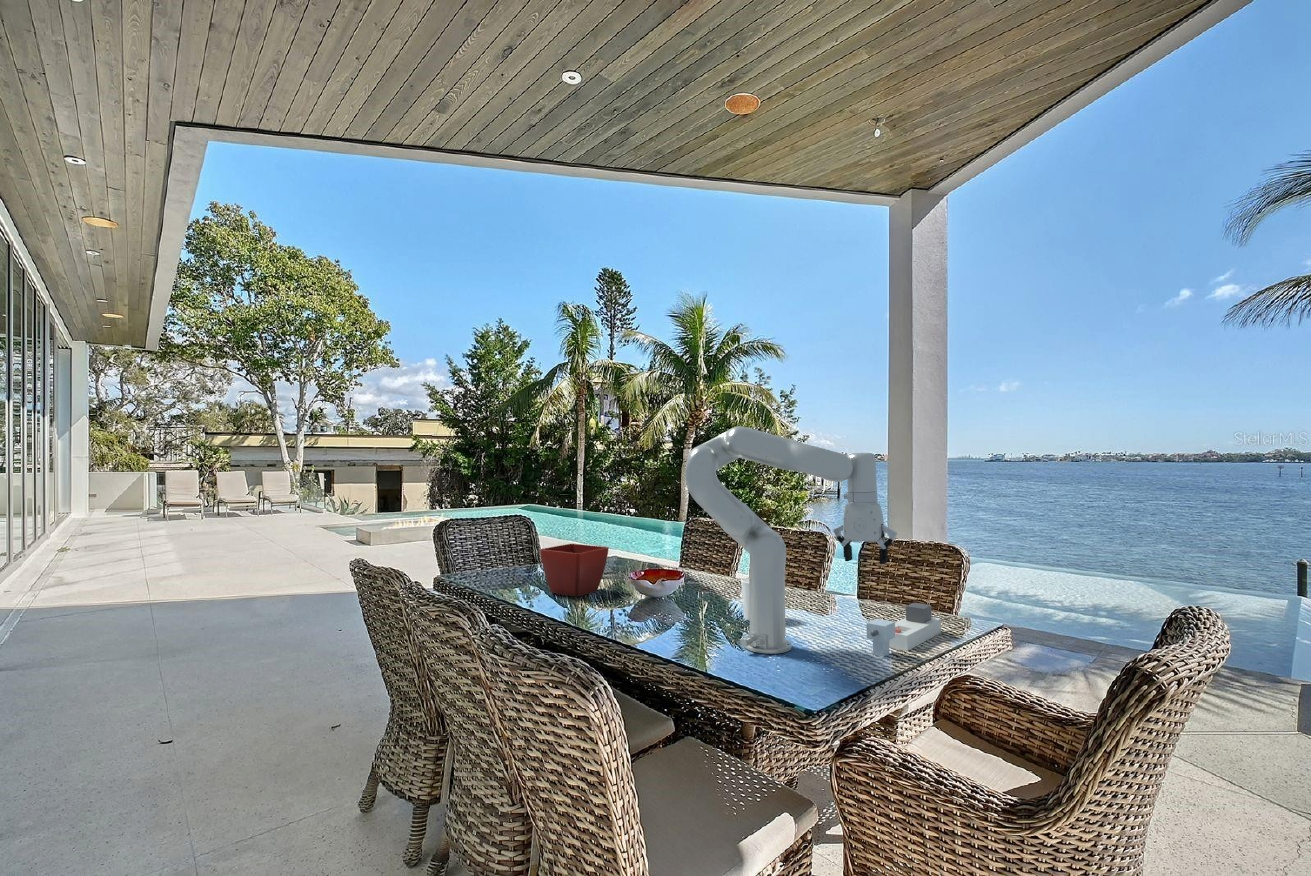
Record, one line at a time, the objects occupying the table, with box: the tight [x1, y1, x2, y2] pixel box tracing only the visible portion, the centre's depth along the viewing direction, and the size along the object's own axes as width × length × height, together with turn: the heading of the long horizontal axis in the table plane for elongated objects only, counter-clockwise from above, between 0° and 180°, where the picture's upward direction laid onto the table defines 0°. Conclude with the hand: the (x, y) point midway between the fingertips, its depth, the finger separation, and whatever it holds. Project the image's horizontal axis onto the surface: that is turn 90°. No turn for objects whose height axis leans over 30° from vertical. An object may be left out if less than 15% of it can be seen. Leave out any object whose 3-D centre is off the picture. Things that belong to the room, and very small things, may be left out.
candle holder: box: [740, 577, 750, 622], centre depth 208 cm, size 10×10×12 cm
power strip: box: [889, 616, 942, 652], centre depth 184 cm, size 24×8×5 cm, turn 137°
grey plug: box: [866, 618, 896, 658], centre depth 170 cm, size 8×5×8 cm, turn 137°
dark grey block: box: [905, 602, 933, 623], centre depth 189 cm, size 8×5×8 cm, turn 137°
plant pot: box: [539, 543, 609, 598], centre depth 248 cm, size 19×19×17 cm
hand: (865, 562), depth 176 cm, fingers open, 9 cm apart
